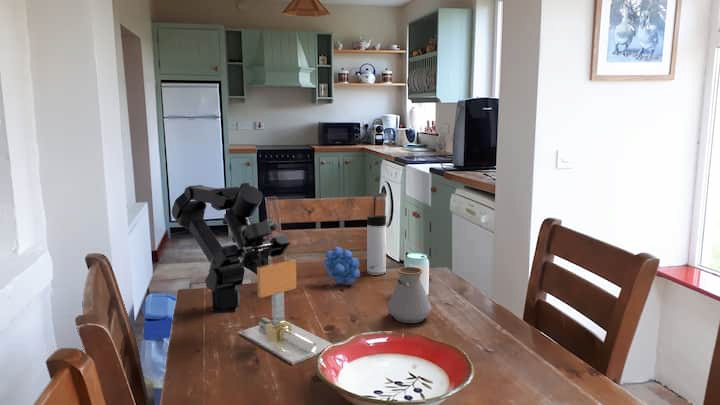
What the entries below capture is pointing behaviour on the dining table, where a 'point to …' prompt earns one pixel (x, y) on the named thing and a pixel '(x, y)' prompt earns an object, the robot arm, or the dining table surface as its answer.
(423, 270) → the can
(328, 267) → the blue bumpy rounded lump
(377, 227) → the travel mug
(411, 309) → the coffee pot
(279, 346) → the valve body
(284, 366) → the dining table surface
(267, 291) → the valve lever
